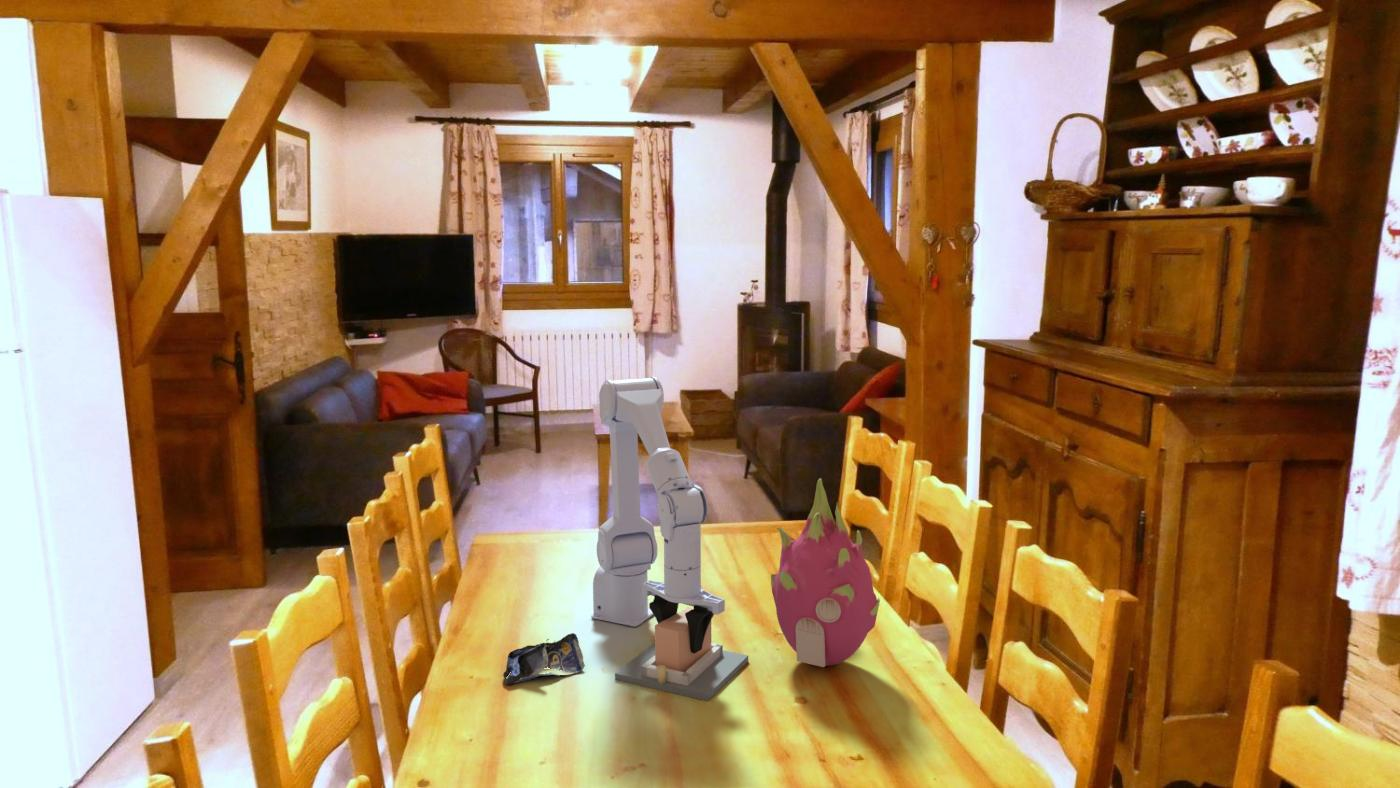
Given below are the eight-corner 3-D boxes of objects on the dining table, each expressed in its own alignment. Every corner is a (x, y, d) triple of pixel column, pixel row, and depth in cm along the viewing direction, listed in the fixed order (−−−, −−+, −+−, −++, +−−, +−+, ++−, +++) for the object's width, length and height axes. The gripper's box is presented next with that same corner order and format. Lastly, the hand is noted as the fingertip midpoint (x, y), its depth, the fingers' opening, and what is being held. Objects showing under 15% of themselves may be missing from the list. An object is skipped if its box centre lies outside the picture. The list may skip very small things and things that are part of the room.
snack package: (557, 698, 144) (594, 663, 155) (549, 657, 143) (587, 624, 154) (489, 697, 149) (530, 663, 160) (480, 657, 148) (522, 625, 159)
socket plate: (615, 679, 149) (614, 658, 149) (661, 643, 163) (661, 623, 162) (707, 701, 142) (707, 678, 142) (748, 661, 156) (748, 640, 155)
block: (678, 675, 147) (678, 632, 146) (655, 668, 150) (654, 625, 149) (711, 654, 155) (711, 613, 154) (688, 648, 157) (688, 607, 156)
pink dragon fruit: (756, 672, 152) (757, 487, 147) (781, 638, 164) (783, 467, 159) (868, 691, 145) (873, 498, 140) (885, 655, 158) (891, 477, 153)
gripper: (735, 566, 149) (735, 648, 151) (660, 549, 157) (661, 627, 159) (710, 579, 143) (710, 665, 145) (633, 560, 151) (634, 642, 153)
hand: (682, 646), depth 152 cm, fingers open, 5 cm apart
